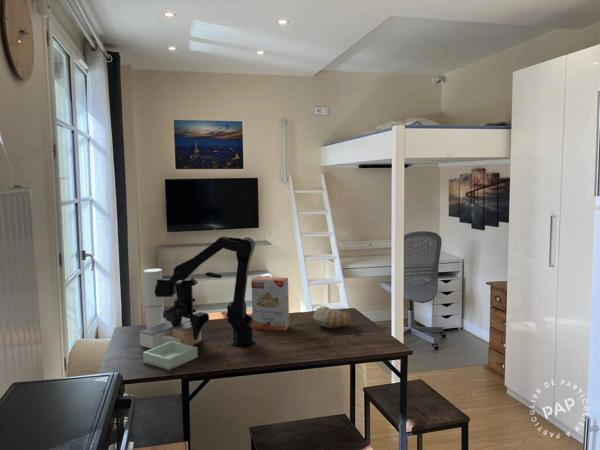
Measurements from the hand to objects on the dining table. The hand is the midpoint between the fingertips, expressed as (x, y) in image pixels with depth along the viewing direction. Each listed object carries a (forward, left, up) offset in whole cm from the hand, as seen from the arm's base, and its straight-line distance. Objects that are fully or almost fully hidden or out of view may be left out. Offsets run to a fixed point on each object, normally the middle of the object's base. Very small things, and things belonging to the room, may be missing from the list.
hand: (186, 337), depth 174 cm
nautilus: (-36, -45, -3) cm, 58 cm away
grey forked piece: (+6, 0, -2) cm, 6 cm away
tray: (-7, +14, -2) cm, 16 cm away
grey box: (0, 0, -2) cm, 2 cm away
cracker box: (-17, -30, -2) cm, 35 cm away
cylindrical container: (+23, -5, -2) cm, 24 cm away
